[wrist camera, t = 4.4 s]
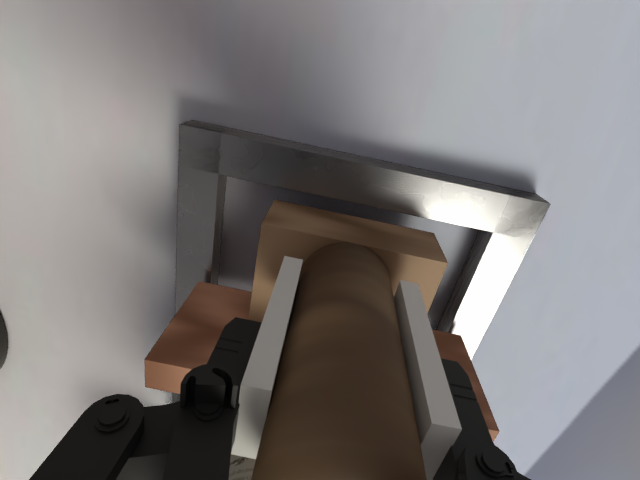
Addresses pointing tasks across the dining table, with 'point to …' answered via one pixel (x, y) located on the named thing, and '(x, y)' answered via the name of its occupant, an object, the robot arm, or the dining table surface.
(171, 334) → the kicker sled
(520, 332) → the dining table surface
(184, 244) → the track
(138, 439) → the robot arm
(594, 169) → the dining table surface
